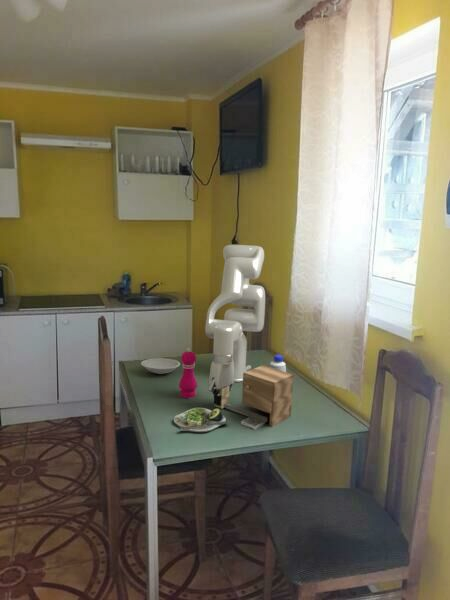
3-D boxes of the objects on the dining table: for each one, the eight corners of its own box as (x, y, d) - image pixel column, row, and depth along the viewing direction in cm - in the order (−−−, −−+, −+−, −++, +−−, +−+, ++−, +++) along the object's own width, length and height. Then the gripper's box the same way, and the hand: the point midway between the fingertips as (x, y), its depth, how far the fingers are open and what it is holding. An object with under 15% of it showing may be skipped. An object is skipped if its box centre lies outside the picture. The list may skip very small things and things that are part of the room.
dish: (181, 369, 234) (181, 359, 233) (177, 380, 219) (178, 369, 218) (144, 367, 234) (144, 357, 233) (137, 378, 220) (137, 367, 219)
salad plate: (197, 442, 165) (197, 429, 164) (160, 425, 177) (161, 413, 176) (234, 424, 180) (235, 412, 179) (199, 409, 191) (199, 398, 190)
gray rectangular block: (251, 419, 184) (251, 415, 183) (264, 424, 180) (264, 420, 180) (241, 424, 179) (241, 420, 179) (254, 430, 175) (254, 426, 175)
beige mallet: (220, 402, 196) (221, 383, 194) (269, 420, 182) (270, 399, 180) (214, 405, 193) (214, 386, 191) (263, 423, 179) (264, 402, 177)
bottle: (285, 401, 201) (288, 353, 197) (281, 407, 194) (285, 358, 190) (269, 398, 203) (272, 351, 199) (265, 405, 197) (267, 356, 193)
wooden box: (260, 405, 196) (262, 365, 193) (290, 416, 187) (293, 374, 184) (239, 415, 186) (241, 373, 183) (269, 427, 177) (272, 383, 174)
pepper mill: (194, 399, 199) (195, 351, 195) (176, 397, 200) (177, 349, 196) (198, 393, 206) (200, 346, 202) (181, 391, 207) (182, 344, 203)
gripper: (229, 350, 198) (227, 394, 202) (200, 360, 185) (199, 406, 189) (244, 355, 193) (242, 399, 197) (216, 365, 181) (214, 412, 184)
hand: (221, 402), depth 193 cm, fingers closed on beige mallet, 4 cm apart
